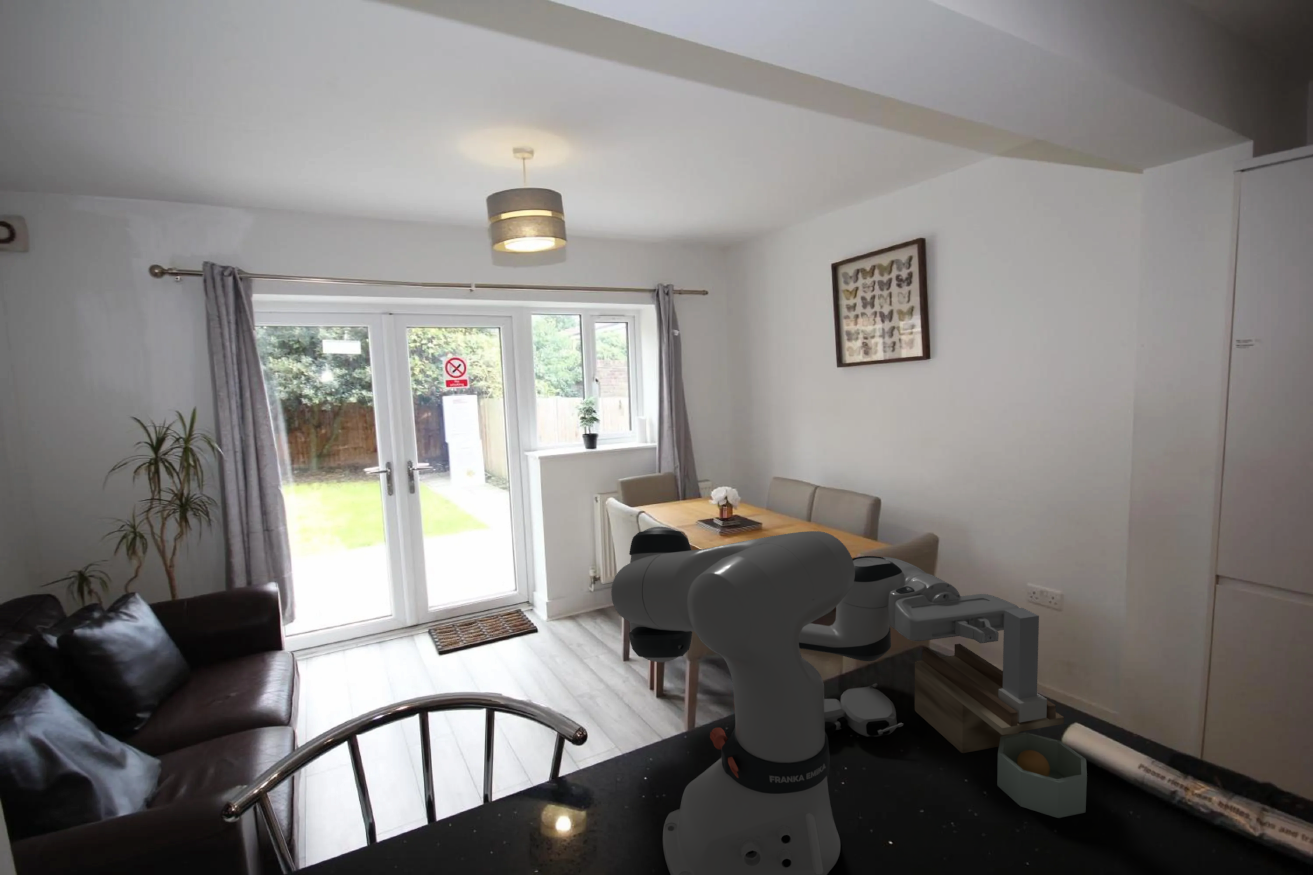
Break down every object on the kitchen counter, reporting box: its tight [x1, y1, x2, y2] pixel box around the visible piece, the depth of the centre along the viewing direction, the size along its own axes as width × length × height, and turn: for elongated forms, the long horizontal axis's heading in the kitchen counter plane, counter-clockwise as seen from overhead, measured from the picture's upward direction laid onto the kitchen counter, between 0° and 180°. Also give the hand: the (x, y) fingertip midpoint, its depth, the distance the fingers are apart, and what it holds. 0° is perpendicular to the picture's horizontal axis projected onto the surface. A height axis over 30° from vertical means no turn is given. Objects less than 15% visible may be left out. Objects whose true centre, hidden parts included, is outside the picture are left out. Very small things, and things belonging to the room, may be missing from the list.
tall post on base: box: [998, 607, 1048, 723], centre depth 86 cm, size 4×4×15 cm
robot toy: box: [824, 683, 905, 738], centre depth 101 cm, size 12×4×15 cm
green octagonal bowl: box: [996, 731, 1088, 819], centre depth 84 cm, size 10×10×5 cm
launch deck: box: [914, 643, 1065, 754], centre depth 95 cm, size 10×20×11 cm, turn 11°
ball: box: [1017, 750, 1050, 777], centre depth 86 cm, size 4×4×4 cm
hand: (990, 637), depth 93 cm, fingers closed
